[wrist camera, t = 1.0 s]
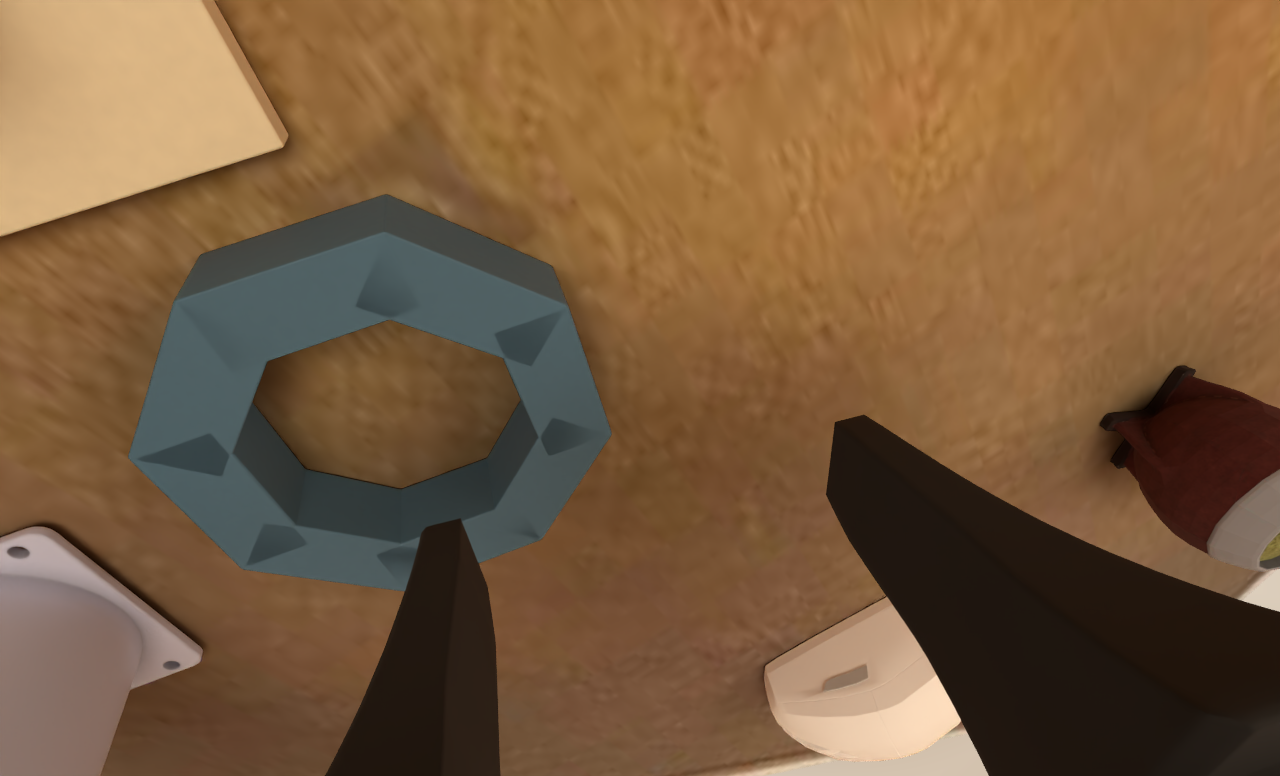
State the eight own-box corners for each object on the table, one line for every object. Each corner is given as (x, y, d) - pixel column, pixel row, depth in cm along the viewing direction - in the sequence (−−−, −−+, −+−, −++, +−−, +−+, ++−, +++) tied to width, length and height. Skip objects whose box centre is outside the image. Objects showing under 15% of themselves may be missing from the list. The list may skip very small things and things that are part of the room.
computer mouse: (746, 671, 38) (796, 784, 33) (949, 559, 37) (1032, 659, 32) (779, 709, 42) (829, 815, 37) (963, 610, 41) (1038, 705, 36)
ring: (311, 570, 24) (303, 630, 22) (63, 298, 17) (17, 352, 15) (618, 456, 25) (636, 504, 23) (512, 152, 18) (527, 184, 16)
